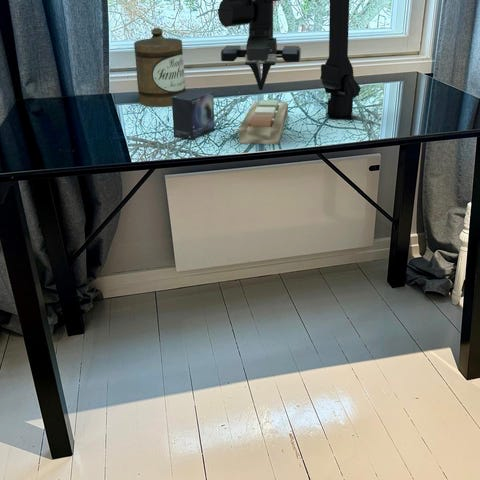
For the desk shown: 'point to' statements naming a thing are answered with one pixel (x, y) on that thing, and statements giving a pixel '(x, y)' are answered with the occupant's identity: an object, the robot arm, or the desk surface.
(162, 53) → the wooden container
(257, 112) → the key ivory
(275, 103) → the key sage
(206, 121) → the small box
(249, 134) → the keypad housing
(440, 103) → the desk surface
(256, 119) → the key terracotta
